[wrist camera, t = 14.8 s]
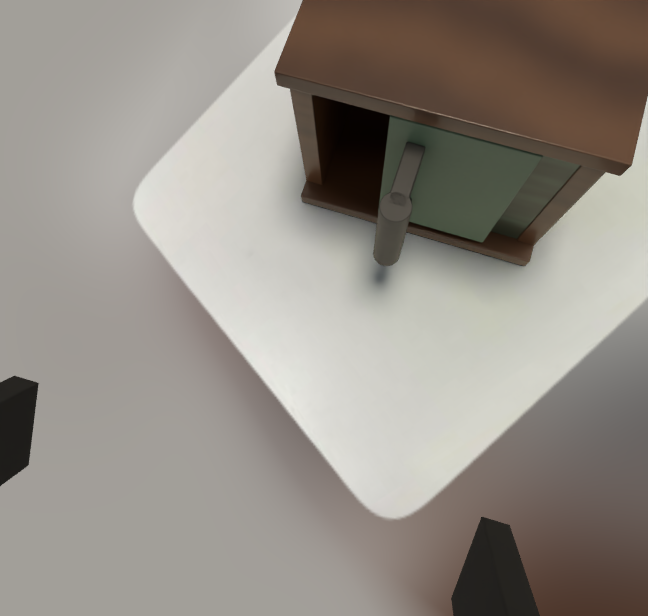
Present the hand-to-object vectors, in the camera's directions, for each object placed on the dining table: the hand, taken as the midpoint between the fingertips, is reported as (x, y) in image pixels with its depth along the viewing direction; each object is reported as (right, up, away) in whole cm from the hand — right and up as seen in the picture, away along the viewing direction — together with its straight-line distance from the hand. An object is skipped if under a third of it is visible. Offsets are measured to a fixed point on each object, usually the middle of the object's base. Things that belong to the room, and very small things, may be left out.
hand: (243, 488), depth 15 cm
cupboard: (+10, +15, +23) cm, 29 cm away
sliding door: (+9, +9, +20) cm, 23 cm away
